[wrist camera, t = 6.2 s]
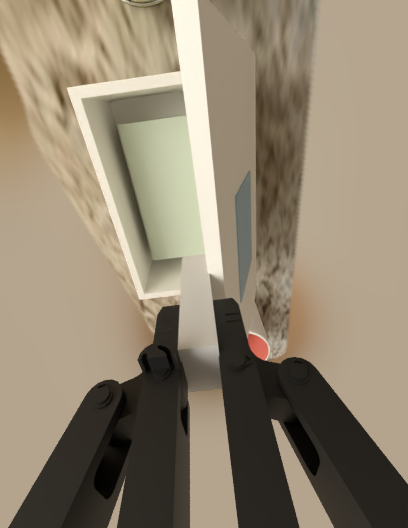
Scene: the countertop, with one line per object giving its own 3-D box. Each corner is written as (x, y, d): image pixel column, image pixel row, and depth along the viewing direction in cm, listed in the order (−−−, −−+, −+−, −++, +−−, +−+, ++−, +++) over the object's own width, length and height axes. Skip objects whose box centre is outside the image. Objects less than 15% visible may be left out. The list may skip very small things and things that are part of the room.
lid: (225, 404, 19) (236, 407, 19) (170, -8, 7) (199, -17, 7) (249, 289, 31) (257, 290, 30) (244, 56, 18) (256, 53, 18)
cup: (247, 329, 48) (259, 376, 39) (196, 325, 47) (198, 372, 38) (262, 290, 43) (280, 334, 34) (206, 283, 41) (210, 327, 33)
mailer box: (149, 262, 39) (139, 299, 31) (102, 94, 27) (66, 87, 19) (237, 251, 38) (249, 286, 31) (228, 75, 26) (244, 61, 19)
